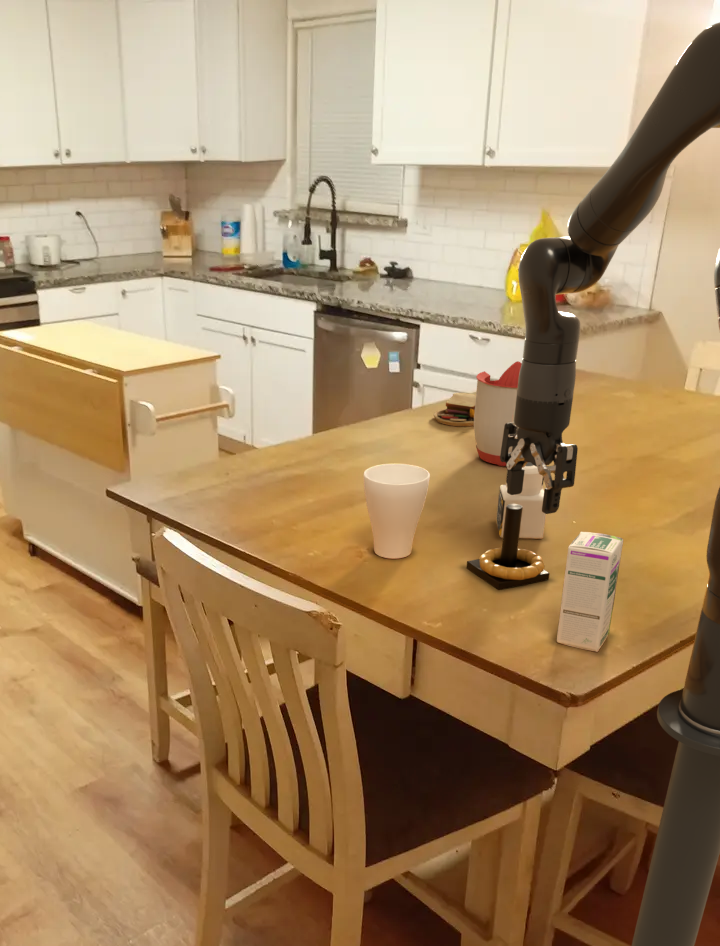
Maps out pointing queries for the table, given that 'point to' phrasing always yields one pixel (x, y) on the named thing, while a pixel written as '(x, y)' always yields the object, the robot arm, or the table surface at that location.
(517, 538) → the holder
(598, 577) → the syrup box
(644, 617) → the table surface
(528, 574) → the ring
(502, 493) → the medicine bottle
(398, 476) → the cup
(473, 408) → the toy sandwich meal
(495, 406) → the citrus juicer
